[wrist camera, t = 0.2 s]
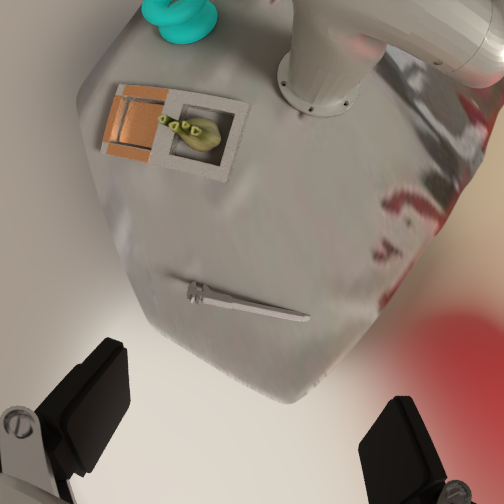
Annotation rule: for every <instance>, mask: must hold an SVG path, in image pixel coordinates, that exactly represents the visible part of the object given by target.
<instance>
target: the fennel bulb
mask: <svg viewBox="0 0 504 504" xmlns="http://www.w3.org/2000/svg"><path fill="white" fill-rule="evenodd" d="M157 120H158V121H159V122H160V124H162V125H165V126H167V127H169V128H170V129H171V130H172V132H175V133H178V134H179V135H180V137H181V138H182V139H183V140H184V141H185V142H186V143H187V144H188V145H189V146H190V147H191V148H193V149H195V150H197V151H200V152H207V151H210V150H211V149H212V148H213V147H216V146H218V145H219V143H220V141H221V136H220V133H219V130H218V127H217V125H216V124H215V123H214V122H213V121H211V120H210V119H206V118H194V119H189V120H184V121H178V120H176V119H173V118H171V117H169V116H167V115H165V114H162V115H160V116H158V118H157Z"/></svg>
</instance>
